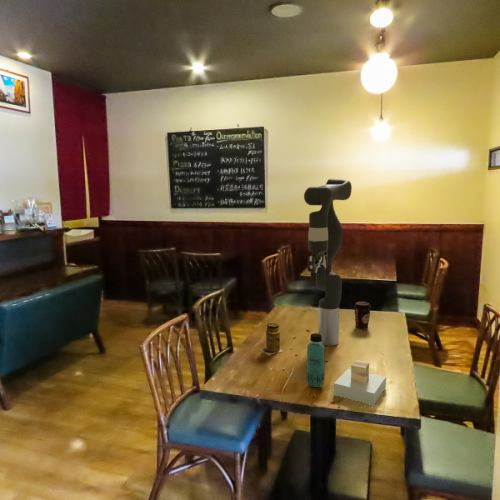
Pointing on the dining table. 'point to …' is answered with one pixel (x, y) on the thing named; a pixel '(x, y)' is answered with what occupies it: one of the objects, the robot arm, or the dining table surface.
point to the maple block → (360, 372)
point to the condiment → (272, 339)
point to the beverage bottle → (315, 361)
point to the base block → (360, 388)
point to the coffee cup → (362, 315)
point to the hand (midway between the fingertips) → (318, 279)
